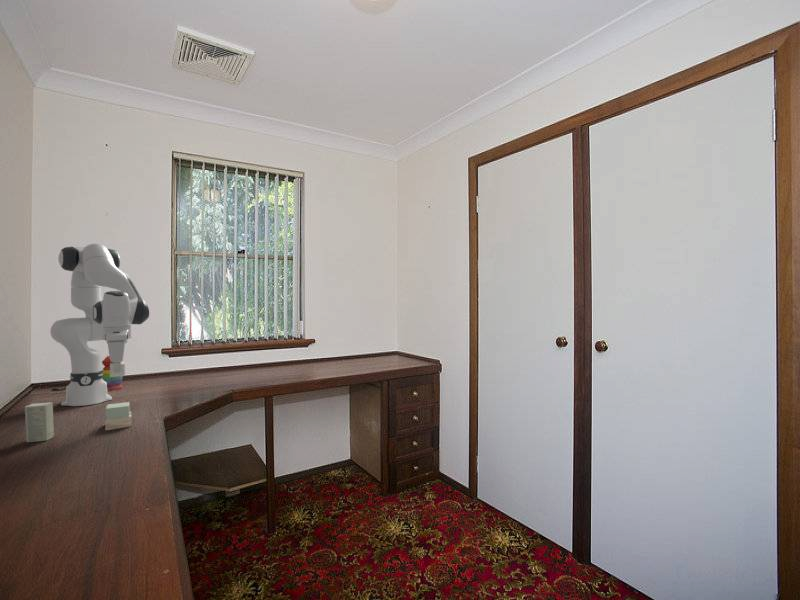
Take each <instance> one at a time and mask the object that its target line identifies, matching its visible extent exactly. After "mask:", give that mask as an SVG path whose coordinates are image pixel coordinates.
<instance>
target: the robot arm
mask: <svg viewBox="0 0 800 600" xmlns="http://www.w3.org/2000/svg"><path fill="white" fill-rule="evenodd" d="M58 263H59V265H60V267H61V268H62V270H64V271H69V272H72V274H71V280H70V302H71V305H72V306H73V307H74V308H76V309H78V310H80V311H82V312H84V314H85V317H70V318H63V319H59V320H56V321H55V322H54V323H52V325H51V327H50V329H49V330H50V331H49V332H50V333H49V334H50V336H51V338H52V339H53V341H55V342H56V343H58V344H60V345H61V346H63V347H64V348H65V349H66V350H67V352H68V354H69V356H70V362H71V363H70V366H71V372H70V376H69V379H70V383H69V384H67V386H66V387H65V400H63V401H62V402H61V403H60V405H61V406H63V407H64V406H65V407H66V406H69V407H80V406H82V407H84V406H91V405H96V404H100V403H103V402H108V401H112V400H113V397H112V396H111V395H110V394H109V393H108V392H109V391H108V390H107V382H105V381H104V380H103V379H102V378H103V364H102V361H103V360H102V354H101V352H100V351H98V350H96V349H93V348H90V347H89V346H88V342H95V341H105V342H106V344H107V348H108V356H110V361H111V362H114V372H115V373H119V372H120V364H121V363H122V362H124V361H123V360H124V356H125V355H124V353H125V346H126V344H127V343H128V340H129V339H131V338H132V325H142V324H144V322H146V321H147V320H148V319H149V317H150V308H149V305H148V303H147V302H146V301H145V300H144V299H143V298H142V296H141V294H140V292H139V291H138V289H137V287H136V286H135V284H134V282H133V281H132V279H131V278H130V276H129V274H127V273H125V272H123V271H122V270H120V265H121V257H120V254H119V252H118V251H117V250H115V249H111V248H107V247H106V246H105V245H103V244H101V243H91V244H88V245H85V246H81V247H80V246H77V247H76V246H65V247H63V248H62V249H61V250H60V252H59V254H58ZM102 287H105V288H110V289H113V290H111V291H105V292H104V293H103V296H102ZM102 297H103V298H102Z"/></svg>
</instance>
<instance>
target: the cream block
mask: <svg viewBox="0 0 800 600" xmlns="http://www.w3.org/2000/svg"><path fill="white" fill-rule="evenodd" d="M117 376H123V377H124V376H126V363H125V361H121V364H120V372H119V373H115V372H114V363H110V377H117Z"/></svg>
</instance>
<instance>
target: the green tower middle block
mask: <svg viewBox="0 0 800 600" xmlns="http://www.w3.org/2000/svg"><path fill="white" fill-rule="evenodd" d="M130 412H131V408H130V401H128V402H127V401H126V402H125V401H124V402H119V403H118V402H117V403H110V404H109V403H108V404H106V407H105V418H106V420H108V419H115V418H123V417H129V413H130Z"/></svg>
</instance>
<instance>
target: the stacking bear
mask: <svg viewBox="0 0 800 600" xmlns="http://www.w3.org/2000/svg"><path fill="white" fill-rule="evenodd" d="M101 361H102V366H103V367H102V370H103V378H102V379H103V380H104V381H105V382H107V390H108V392H110V390H112V391H118V390H121V389H123V385H122V381H123V378H124V376H117V377H110V363H114V362H111V361H110V356H109V355H107V356H106V357H104V359H102V360H101ZM120 388H121V389H120ZM117 389H118V390H117Z"/></svg>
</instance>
